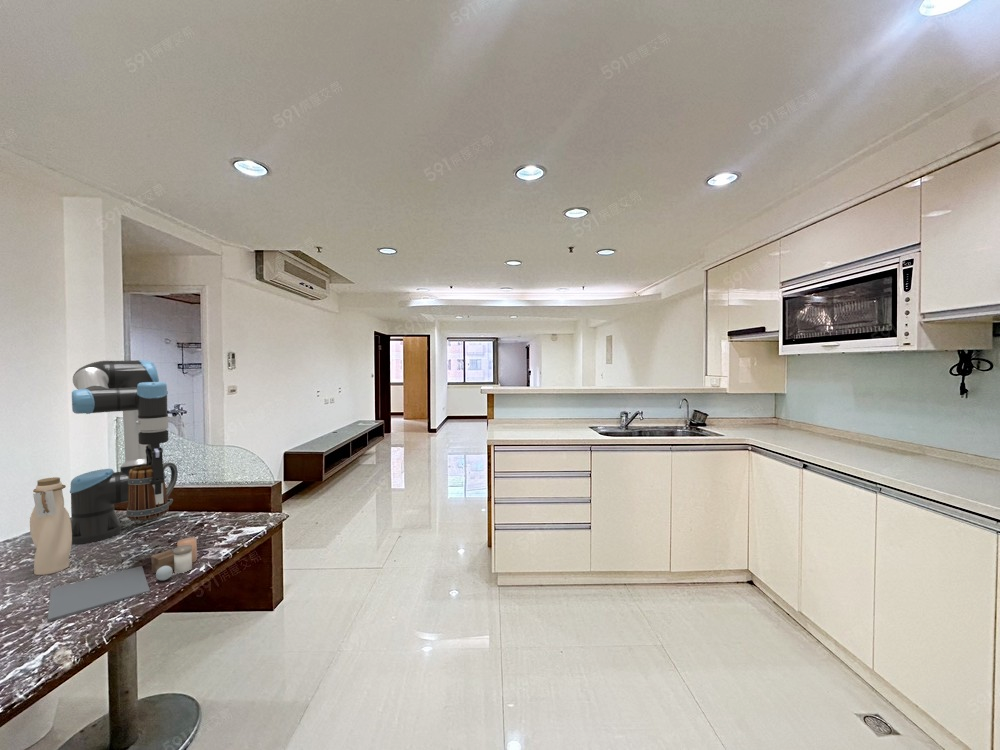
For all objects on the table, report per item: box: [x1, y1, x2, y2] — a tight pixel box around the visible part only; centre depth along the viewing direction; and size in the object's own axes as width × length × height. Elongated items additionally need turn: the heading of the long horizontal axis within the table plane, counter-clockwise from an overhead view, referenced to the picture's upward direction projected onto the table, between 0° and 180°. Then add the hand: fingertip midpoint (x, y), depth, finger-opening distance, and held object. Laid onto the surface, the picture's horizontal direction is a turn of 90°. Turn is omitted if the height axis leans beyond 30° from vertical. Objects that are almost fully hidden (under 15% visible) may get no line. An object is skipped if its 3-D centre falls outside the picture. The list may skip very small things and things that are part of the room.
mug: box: [126, 462, 179, 521], centre depth 143 cm, size 16×11×15 cm
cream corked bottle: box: [29, 476, 73, 576], centre depth 136 cm, size 10×9×28 cm
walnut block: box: [150, 549, 174, 574], centre depth 137 cm, size 5×5×5 cm
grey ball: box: [155, 566, 174, 582], centre depth 131 cm, size 4×4×4 cm
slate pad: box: [47, 565, 151, 623], centre depth 124 cm, size 20×20×1 cm
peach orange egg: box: [176, 536, 198, 563], centre depth 142 cm, size 5×5×7 cm
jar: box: [172, 545, 193, 574], centre depth 137 cm, size 5×5×7 cm
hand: (155, 500), depth 142 cm, fingers closed on mug, 9 cm apart
